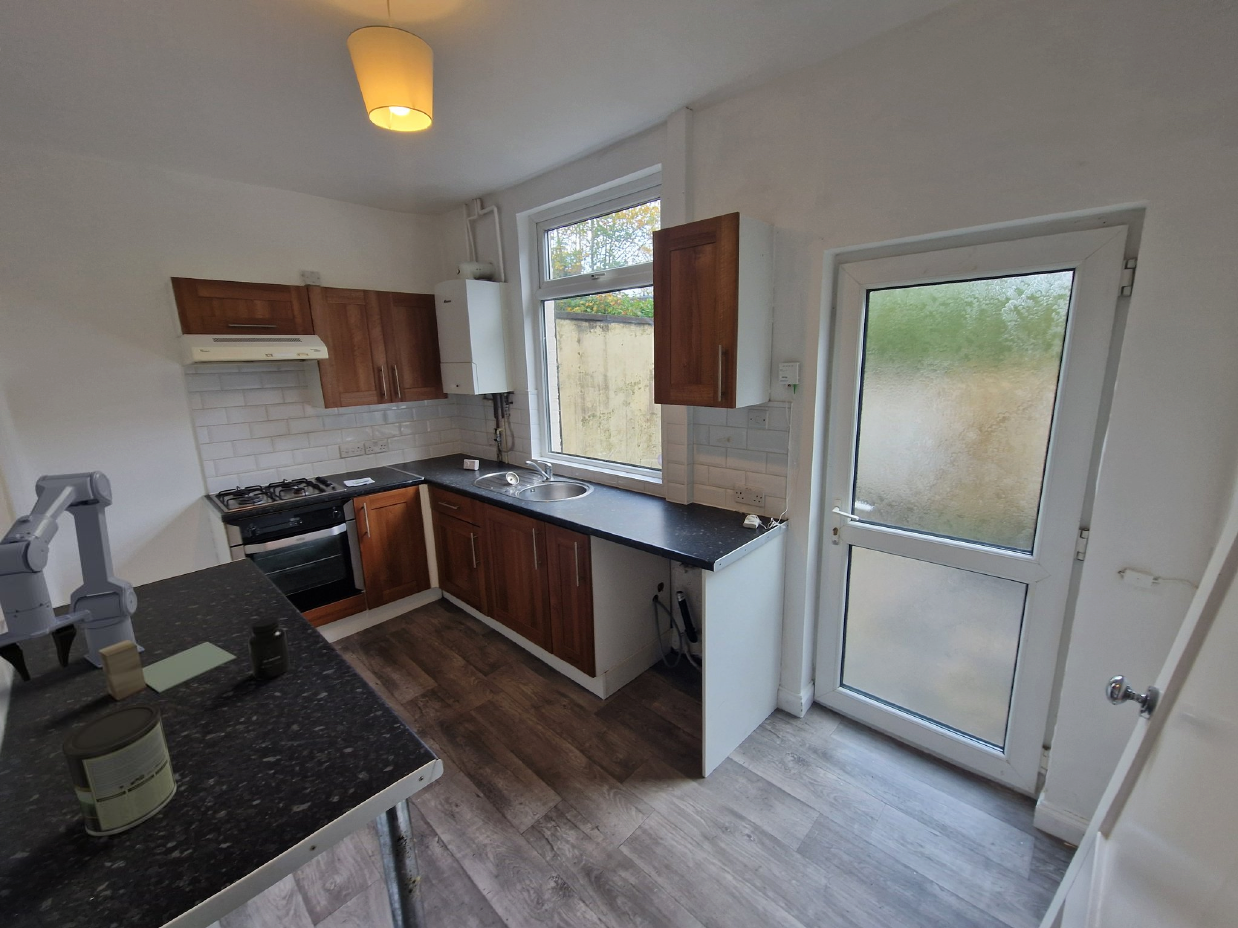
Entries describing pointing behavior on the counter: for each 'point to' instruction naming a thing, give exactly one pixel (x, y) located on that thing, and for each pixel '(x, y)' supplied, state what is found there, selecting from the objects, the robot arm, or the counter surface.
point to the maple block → (122, 669)
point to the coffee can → (120, 768)
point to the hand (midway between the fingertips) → (45, 672)
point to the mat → (185, 666)
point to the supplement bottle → (268, 649)
